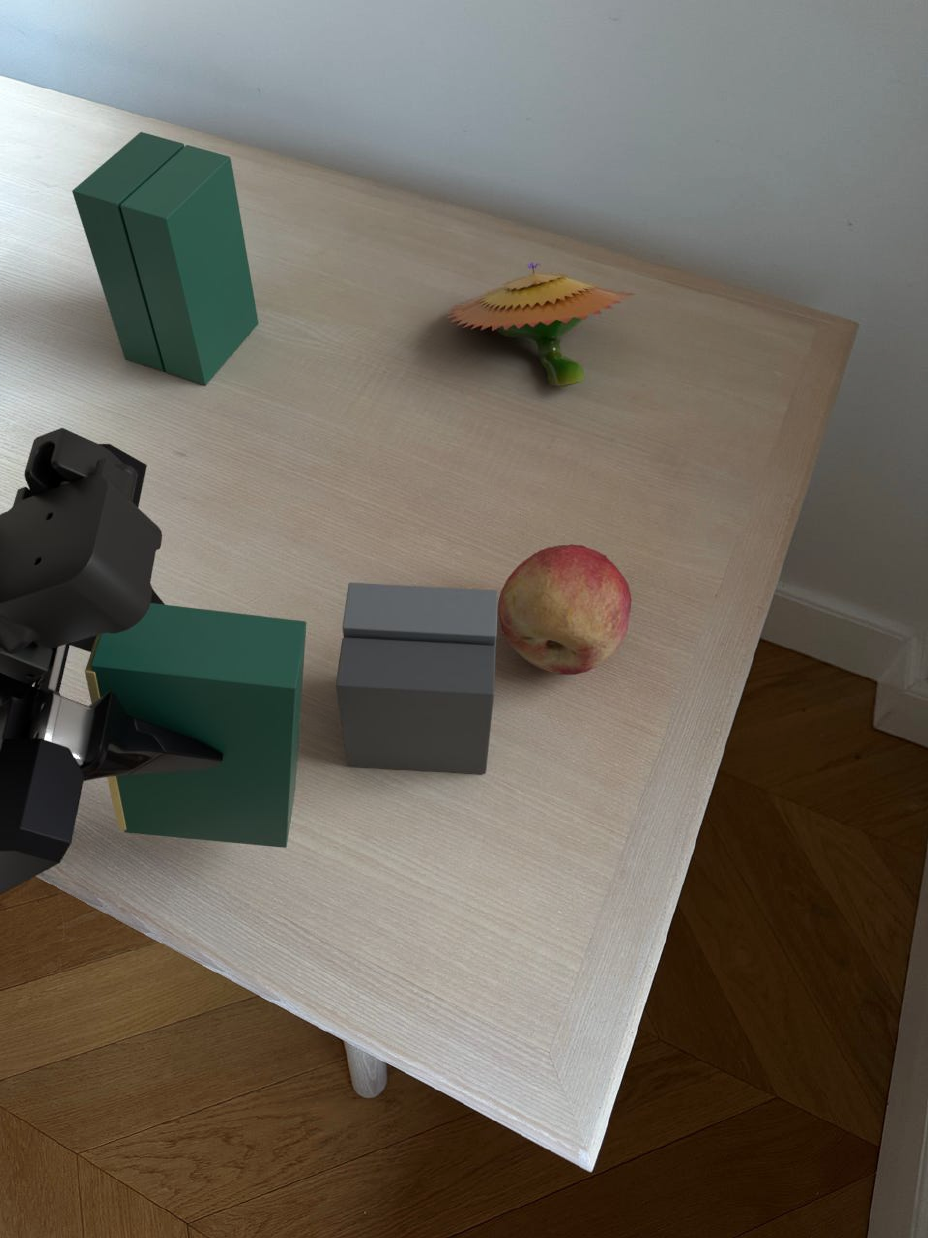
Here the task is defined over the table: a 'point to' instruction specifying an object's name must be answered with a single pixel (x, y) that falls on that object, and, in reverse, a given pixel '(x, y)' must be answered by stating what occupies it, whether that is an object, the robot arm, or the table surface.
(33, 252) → the table surface
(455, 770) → the grey grooved block
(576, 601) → the fruit
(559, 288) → the flower
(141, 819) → the green book
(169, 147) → the green grooved box
